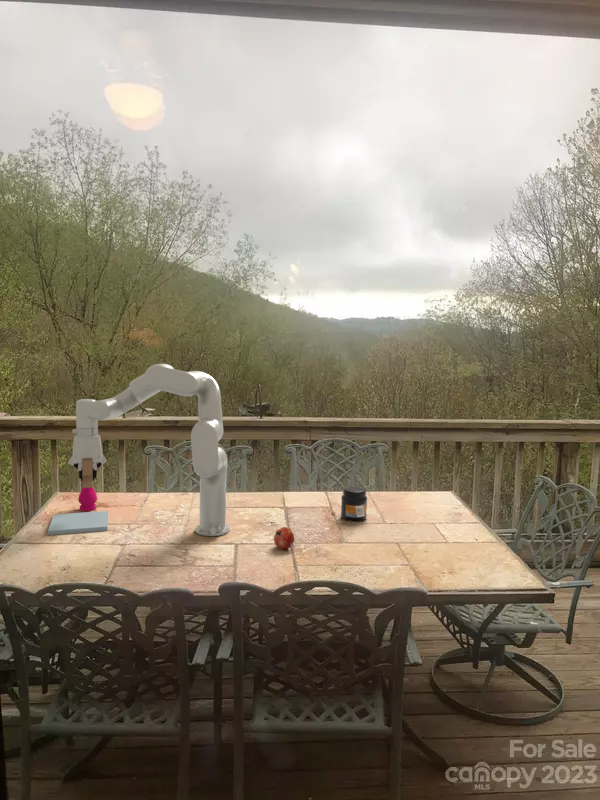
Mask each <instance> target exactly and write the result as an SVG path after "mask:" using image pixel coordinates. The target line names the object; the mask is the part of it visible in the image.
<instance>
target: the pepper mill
mask: <svg viewBox="0 0 600 800" xmlns="http://www.w3.org/2000/svg"><path fill="white" fill-rule="evenodd" d="M77 501H78V503H79V504H80V505H79V511H80V510H83V511H82V512H84V511H88V512H90V511H89V510H93V511H95V510H96V509H97V505H96V502H97V501H98V495H97V493H96V491H95V488H94V487H93V488H82V487H81V490H80V492H79V495H78V499H77ZM94 509H95V510H94Z"/></svg>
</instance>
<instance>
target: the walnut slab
mask: <svg viewBox="0 0 600 800" xmlns="http://www.w3.org/2000/svg"><path fill="white" fill-rule="evenodd" d="M81 485H82V486H81V489H82V488H94V481H93V463H92V458H84V459H82V481H81Z"/></svg>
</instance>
